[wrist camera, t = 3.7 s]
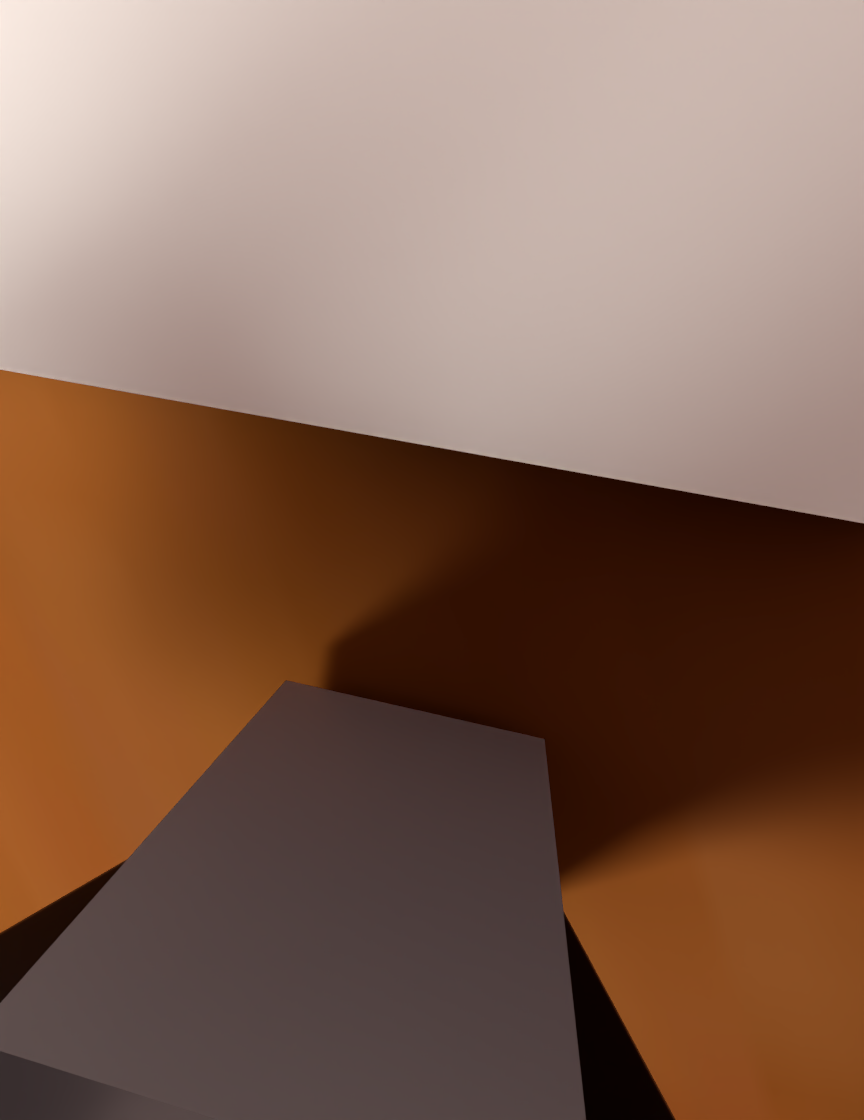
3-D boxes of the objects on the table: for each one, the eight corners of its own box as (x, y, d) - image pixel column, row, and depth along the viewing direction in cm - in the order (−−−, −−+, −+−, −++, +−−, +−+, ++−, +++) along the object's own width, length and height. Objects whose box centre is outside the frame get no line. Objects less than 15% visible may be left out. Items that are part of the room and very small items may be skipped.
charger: (544, 738, 8) (598, 1238, 3) (491, 945, 9) (469, 1560, 4) (286, 679, 8) (-33, 1039, 3) (265, 885, 9) (-1, 1382, 4)
